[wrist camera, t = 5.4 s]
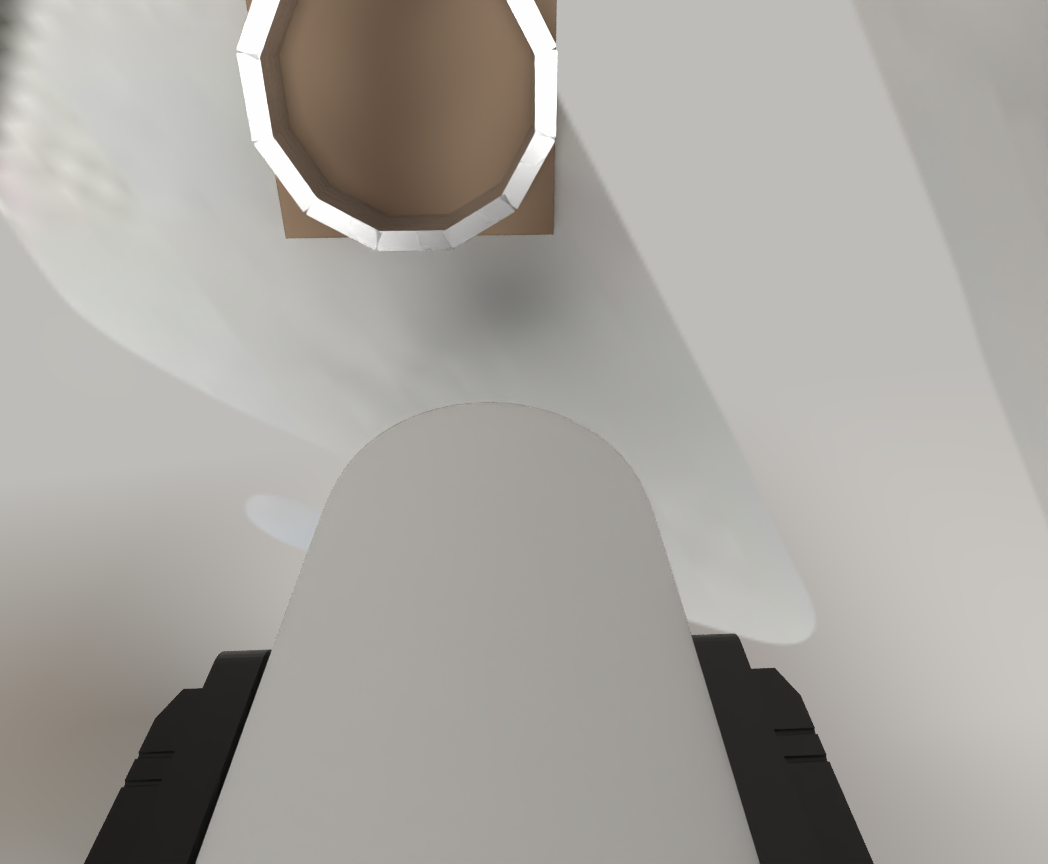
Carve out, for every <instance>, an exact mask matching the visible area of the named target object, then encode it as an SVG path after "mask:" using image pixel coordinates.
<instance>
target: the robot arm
mask: <svg viewBox="0 0 1048 864" xmlns="http://www.w3.org/2000/svg"><path fill="white" fill-rule="evenodd" d="M692 639H693V643H694V646H695V650H696V653H697V656H698V660H699V663H700V666H701V669H702V673H703V676H704V679H705V683H706V686H707V689H708V693H709V696H710V699H711V703H712V706H713V709H714V712H715V716H716V719H717V723H718V726H719V729H720V733H721V736H722V739H723V743H724V746H725V749H726V753H727V756H728V759H729V763H730V766H731V769H732V773H733V776H734V779H735V783H736V786H737V789H738V793H739V796H740V799H741V803H742V806H743V809H744V813H745V816H746V819H747V823H748V826H749V829H750V833H751V836H752V839H753V842H754V846H755V849H756V852H757V856H758V859H759V863H760V864H873V861H872V859H871V857H870V854H869V852H868V850H867V847H866V845H865V843H864V840H863V838H862V836H861V833H860V831H859V829H858V827H857V824H856V822H855V820H854V818H853V815H852V813H851V810H850V808H849V806H848V804H847V801H846V799H845V797H844V794H843V792H842V790H841V788H840V785H839V783H838V781H837V778H836V776H835V774H834V771H833V769H832V767H831V764H830V762H828V761H827V759H826V753H825V751H824V748H823V746H822V744H821V741H820V739H819V737H818V735H817V734H815V730H814V728H815V727H814V725H813V723H812V721H811V718H810V716H809V714H808V711H807V709H806V707H805V704H804V702H803V700H802V698H801V695H800V694H799V693H798V692H797V691H796V690H795V689H794V688H793V687H792V686H791V685H790V684H789V683H788V682H787V681H786V680H785V678H784V677H783V676H782V675H781V674H780V673H779V672H778V671H777V670H776V669H775V668H762V669H751V668H750V665H749V662H748V659H747V657H746V654H745V652H744V649H743V646H742V644H741V641H740V639H739V637H738V636H737V635H736V634H710V635H692ZM271 651H272V650H251V651H250V650H249V651H224V652H221V653H220V654H219V655H218V656H217V658H216V659H215V661H214V664H213V666H212V668H211V670H210V672H209V675H208V677H207V679H206V682H205V684H204V686H203V688H198V689H183V690H182V691H181V692H180V693H179V694H178V695H177V696H176V697H175V698H174V700H172V701H171V703H170V704H169V705H168V706H167V707H166V708H165V709H164V710H163V711H162V712H161V713H160V714H159V715H158V716H157V717H156V718H155V720H154V722H153V724H152V726H151V728H150V730H149V732H148V734H147V736H146V739H145V740H144V743H143V744H142V747H141V748H140V751H139V757H138V759H135V761H134V763H133V765H132V767H131V769H130V771H129V773H128V775H127V777H126V779H125V786H124V787H122V788H121V789H120V791H119V793H118V796H117V797H116V799H115V801H114V803H113V806H112V808H111V810H110V812H109V814H108V816H107V818H106V820H105V822H104V824H103V826H102V828H101V830H100V832H99V834H98V836H97V838H96V840H95V842H94V844H93V846H92V848H91V850H90V853H89V855H88V857H87V859H86V861H85V863H84V864H195V863H196V860H197V858H198V855H199V852H200V849H201V846H202V844H203V841H204V838H205V835H206V832H207V830H208V827H209V824H210V821H211V818H212V816H213V813H214V810H215V807H216V804H217V802H218V799H219V796H220V793H221V790H222V788H223V785H224V782H225V779H226V776H227V774H228V771H229V768H230V765H231V762H232V760H233V757H234V754H235V751H236V748H237V746H238V743H239V740H240V737H241V734H242V732H243V729H244V726H245V723H246V720H247V718H248V715H249V712H250V709H251V707H252V704H253V701H254V698H255V695H256V693H257V690H258V687H259V684H260V682H261V679H262V676H263V673H264V670H265V668H266V665H267V662H268V659H269V657H270V654H271Z"/></svg>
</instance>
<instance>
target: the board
mask: <svg viewBox="0 0 1048 864" xmlns="http://www.w3.org/2000/svg"><path fill="white" fill-rule="evenodd" d="M252 1H253V0H246V5H247V11H248V13H249V10H250V7H251V4H252ZM556 1H557V0H534V2H535V4H536V6H537V8H538V10H539V12H540V14H541V16H542V18H543V20H544V22H545V24H546V26H547V28H548V30H549V32H550V34H551V36H552V38H553V40H554V42H555V44H556ZM554 48H555V49H556V47H554ZM279 57H280V64H281V70H282V77H283V83H284V90H285V96H286V103H287V109H288V116H289V122H290V127H291V128H292V130H293V131H294V133H295V134H296V136H297V137H298V138H299V140H300V141H301V143H302V144H303V146H304V147H305V148H306V150H307V151H308V153H309V154H310V156H311V157H312V158H313V160H314V161H315V163H316V164H317V166H318V167H319V169H320V170H321V171H322V173H323V174H324V176H325V177H326V179H327V180H328V181H329V183H330V184H331V185H333V186H335V187H336V188H338V189H340V190H342V191H344V192H346V193H348V194H349V195H351V196H353V197H355V198H357V199H359V200H361V201H362V202H364V203H366V204H368V205H370V206H372V207H374V208H375V209H377V210H379V211H381V212H383V213H385V214H387V215H440V214H451V213H452V212H454V211H455V210H457V209H459V208H460V207H462V206H463V205H465V204H467V203H468V202H470V201H472V200H473V199H475V198H476V197H478V196H480V195H481V194H483V193H484V192H486V191H488V190H489V189H491V188H492V187H494V186H496V185H497V184H499V183H501V182H502V180H503V178H504V176H505V174H506V172H507V170H508V168H509V167H510V165H511V163H512V161H513V159H514V157H515V155H516V153H517V151H518V150H519V148H520V146H521V144H522V142H523V140H524V138H525V136H526V135H527V133H528V131H529V129H530V127H531V125H532V50H531V48H530V46H529V44H528V42H527V40H526V38H525V37H524V35H523V33H522V31H521V29H520V27H519V25H518V23H517V21H516V19H515V17H514V15H513V13H512V11H511V9H510V7H509V6H508V4H507V2H506V0H298V2H297V5H296V8H295V11H294V13H293V16H292V19H291V22H290V24H289V27H288V30H287V33H286V35H285V38H284V41H283V44H282V47H281V49H280V52H279ZM554 139H555V137H554ZM554 155H555V142H554V144H553V145H552V147H551V149H550V151H549V153H548V154H547V156H546V158H545V160H544V162H543V164H542V165H541V167H540V169H539V171H538V173H537V174H536V176H535V178H534V180H533V182H532V184H531V185H530V187H529V189H528V191H527V193H526V194H525V196H524V198H523V200H522V202H521V203H520V205H519V207H518V209H516V208H515V212H513V213H512V214H510V215H509V216H507V217H505V218H504V219H502V220H500V221H499V222H497V223H495V224H494V225H492V226H490V227H489V228H487V229H485V230H484V231H482V232H480V233H479V234H477V235H542V234H553V231H554ZM275 177H276V183H277V189H278V194H279V200H280V206H281V212H282V218H283V224H284V230H285V236H286V238H343V237H348V236H346V235H344V234H342V233H341V232H339V231H337V230H335V229H333V228H331V227H329V226H327V225H325V224H323V223H321V222H319V221H318V220H316V219H314V218H312V217H310V216H308V215H306V214H307V211H308V209H307V210H306V211H304V212H303V211H302V210H301V208H300V207H299V206H298V204H297V203H296V201H295V200H294V199H293V197H292V196H291V195H290V193H289V192H288V191H287V189H286V188H285V186H284V185H283V184H282V182H281V181H280V180H279V178H278V177H277V176H276V174H275Z"/></svg>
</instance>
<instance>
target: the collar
mask: <svg viewBox="0 0 1048 864" xmlns="http://www.w3.org/2000/svg"><path fill="white" fill-rule="evenodd" d="M297 2H298V0H253V1H252V4H251V7H250V10H249V13H248V16H247V19H246V22H245V25H244V28H243V31H242V34H241V37H240V40H239V43H238V46H237V49H238V50H239V51H241V52H240V53H236V54H237V60H238V65H239V71H240V76H241V82H242V88H243V93H244V99H245V104H246V110H247V115H248V121H249V126H250V132H251V138H252V141H258V142H256V143H255V144H254V145H255V147H256V148H257V150H258V151H259V152H260V154H261V155H262V156H263V158H264V159H265V160H266V162H267V163H268V165H269V166H270V167H271V169H272V170H273V171H274V173H275V174H276V176H277V177H278V178H279V180H280V181H281V182H282V184H283V185H284V186H285V188H286V189H287V191H288V192H289V193H290V195H291V196H292V197H293V199H294V200H295V201H296V203H297V204H298V206H299V207H300V208H301V210H302V211H303V212H304V211H306V210H307V209H308V211H307V214H306V215H308V216H310V217H312V218H314V219H316V220H318V221H319V222H321V223H323V224H325V225H327V226H329V227H331V228H333V229H335V230H337V231H339V232H341V233H342V234H344V235H346V236H348V237H350V238H352V239H354V240H356V241H358V242H360V243H362V244H364V245H365V246H367V247H369V248H371V249H373V250H375V248H376V246H377V248H378V251H413V250H450V248H451V246H452V248H453V249H454V248H456V247H457V246H459V245H461V244H462V243H464V242H466V241H467V240H469V239H471V238H472V237H474V236H476V235H477V234H479V233H480V232H482V231H484V230H485V229H487V228H489V227H490V226H492V225H494V224H495V223H497V222H499V221H500V220H502V219H504V218H505V217H507V216H509V215H510V214H512V213H513V212H515V208H516V209H518V207H519V205H520V203H521V202H522V200H523V198H524V196H525V194H526V193H527V191H528V189H529V187H530V185H531V184H532V182H533V180H534V178H535V176H536V174H537V173H538V171H539V169H540V167H541V165H542V164H543V162H544V160H545V158H546V156H547V154H548V153H549V151H550V149H551V147H552V145H553V144H554V142H555V139H554V137H556V108H557V50H556V49H555V48H554V47H556V44H555V42H554V40H553V38H552V36H551V34H550V32H549V30H548V28H547V26H546V24H545V22H544V20H543V18H542V16H541V14H540V12H539V10H538V8H537V6H536V4H535V2H534V0H506V2H507V4H508V6H509V7H510V9H511V11H512V13H513V15H514V17H515V19H516V21H517V23H518V25H519V27H520V29H521V31H522V33H523V35H524V37H525V38H526V40H527V42H528V44H529V46H530V48H531V50H532V125H531V127H530V129H529V131H528V133H527V135H526V136H525V138H524V140H523V142H522V144H521V146H520V148H519V150H518V151H517V153H516V155H515V157H514V159H513V161H512V163H511V165H510V167H509V168H508V170H507V172H506V174H505V176H504V178H503V180H502V182H501V183H499V184H497V185H496V186H494V187H492V188H491V189H489V190H488V191H486V192H484V193H483V194H481V195H480V196H478V197H476V198H475V199H473V200H472V201H470V202H468V203H467V204H465V205H463V206H462V207H460V208H459V209H457V210H455V211H454V212H452V213H451V214H440V215H387V214H385V213H383V212H381V211H379V210H377V209H375V208H374V207H372V206H370V205H368V204H366V203H364V202H362V201H361V200H359V199H357V198H355V197H353V196H351V195H349V194H348V193H346V192H344V191H342V190H340V189H338V188H336V187H335V186H333V185H331V184H330V183H329V181H328V180H327V179H326V177H325V176H324V174H323V173H322V171H321V170H320V169H319V167H318V166H317V164H316V163H315V161H314V160H313V158H312V157H311V156H310V154H309V153H308V151H307V150H306V148H305V147H304V146H303V144H302V143H301V141H300V140H299V138H298V137H297V136H296V134H295V133H294V131H293V130H292V128H291V127H290V122H289V116H288V109H287V103H286V96H285V90H284V83H283V77H282V70H281V64H280V57H279V52H280V49H281V47H282V44H283V41H284V38H285V35H286V33H287V30H288V27H289V24H290V22H291V19H292V16H293V13H294V11H295V8H296V5H297Z"/></svg>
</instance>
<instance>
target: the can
mask: <svg viewBox="0 0 1048 864" xmlns="http://www.w3.org/2000/svg"><path fill="white" fill-rule="evenodd" d="M195 864H760V863H759V859H758V856H757V852H756V849H755V846H754V842H753V839H752V836H751V833H750V829H749V826H748V823H747V819H746V816H745V813H744V809H743V806H742V803H741V799H740V796H739V793H738V789H737V786H736V783H735V779H734V776H733V773H732V769H731V766H730V763H729V759H728V756H727V753H726V749H725V746H724V743H723V739H722V736H721V733H720V729H719V726H718V723H717V719H716V716H715V712H714V709H713V706H712V703H711V699H710V696H709V693H708V689H707V686H706V683H705V679H704V676H703V673H702V669H701V666H700V663H699V660H698V656H697V653H696V650H695V646H694V643H693V639H692V635H691V632H690V629H689V626H688V622H687V619H686V616H685V612H684V609H683V606H682V603H681V599H680V596H679V593H678V590H677V586H676V583H675V580H674V577H673V573H672V570H671V567H670V563H669V560H668V557H667V554H666V550H665V547H664V544H663V541H662V538H661V535H660V532H659V528H658V525H657V522H656V519H655V516H654V513H653V510H652V507H651V504H650V502H649V499H648V497H647V494H646V492H645V490H644V488H643V486H642V484H641V482H640V480H639V478H638V477H637V475H636V474H635V472H634V471H633V469H632V468H631V466H630V465H629V464H628V463H627V461H626V460H625V459H624V458H623V457H622V456H621V455H620V454H619V453H618V452H617V451H616V450H615V449H614V448H613V447H612V446H611V445H610V444H609V443H607V442H606V441H605V440H604V439H602V438H601V437H600V436H598V435H597V434H595V433H594V432H592V431H591V430H589V429H587V428H586V427H584V426H582V425H580V424H578V423H576V422H574V421H572V420H570V419H568V418H565V417H563V416H560V415H558V414H555V413H552V412H549V411H545V410H542V409H538V408H534V407H529V406H524V405H517V404H509V403H494V402H483V403H467V404H459V405H453V406H447V407H443V408H438V409H435V410H431V411H428V412H425V413H422V414H419V415H416V416H414V417H411V418H409V419H407V420H404V421H402V422H400V423H398V424H396V425H395V426H393V427H391V428H389V429H388V430H386V431H384V432H383V433H381V434H380V435H378V436H377V437H376V438H374V439H373V440H372V441H371V442H369V443H368V444H367V445H366V446H365V447H364V448H363V449H361V450H360V451H359V452H358V453H357V455H356V456H355V457H354V458H353V459H352V460H351V461H350V462H349V464H348V465H347V466H346V468H345V469H344V471H343V472H342V474H341V475H340V477H339V478H338V480H337V482H336V484H335V486H334V488H333V489H332V491H331V494H330V495H329V498H328V500H327V502H326V504H325V507H324V509H323V512H322V514H321V517H320V519H319V522H318V525H317V527H316V530H315V533H314V536H313V538H312V541H311V544H310V546H309V549H308V552H307V554H306V557H305V560H304V563H303V565H302V568H301V571H300V574H299V577H298V579H297V582H296V585H295V587H294V590H293V593H292V596H291V598H290V601H289V604H288V607H287V609H286V612H285V615H284V618H283V621H282V623H281V626H280V629H279V632H278V634H277V637H276V640H275V643H274V645H273V648H272V651H271V654H270V657H269V659H268V662H267V665H266V668H265V670H264V673H263V676H262V679H261V682H260V684H259V687H258V690H257V693H256V695H255V698H254V701H253V704H252V707H251V709H250V712H249V715H248V718H247V720H246V723H245V726H244V729H243V732H242V734H241V737H240V740H239V743H238V746H237V748H236V751H235V754H234V757H233V760H232V762H231V765H230V768H229V771H228V774H227V776H226V779H225V782H224V785H223V788H222V790H221V793H220V796H219V799H218V802H217V804H216V807H215V810H214V813H213V816H212V818H211V821H210V824H209V827H208V830H207V832H206V835H205V838H204V841H203V844H202V846H201V849H200V852H199V855H198V858H197V860H196V863H195Z"/></svg>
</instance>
